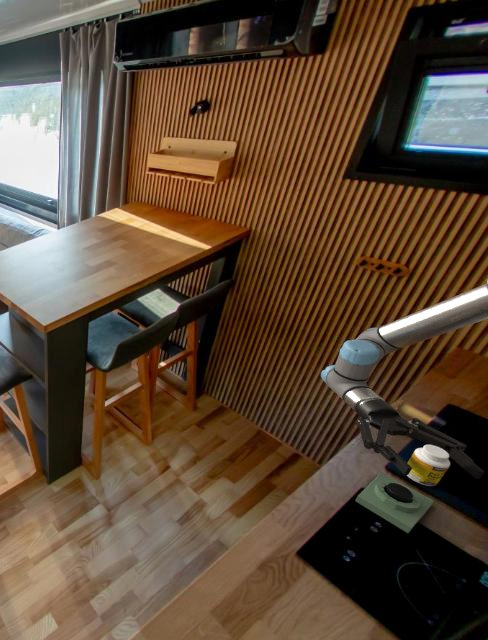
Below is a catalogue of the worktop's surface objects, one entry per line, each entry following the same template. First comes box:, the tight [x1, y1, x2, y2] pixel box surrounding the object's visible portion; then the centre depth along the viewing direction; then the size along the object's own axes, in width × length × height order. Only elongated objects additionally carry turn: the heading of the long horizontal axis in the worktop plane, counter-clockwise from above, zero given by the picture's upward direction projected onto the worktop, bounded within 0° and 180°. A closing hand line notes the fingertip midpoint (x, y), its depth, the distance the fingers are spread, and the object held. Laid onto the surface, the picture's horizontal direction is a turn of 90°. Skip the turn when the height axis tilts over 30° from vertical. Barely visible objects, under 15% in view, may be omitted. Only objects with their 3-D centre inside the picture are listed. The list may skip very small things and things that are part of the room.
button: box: [385, 483, 413, 503], centre depth 87 cm, size 4×4×2 cm
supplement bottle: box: [406, 444, 451, 487], centre depth 91 cm, size 6×6×10 cm
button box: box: [354, 472, 435, 534], centre depth 88 cm, size 12×9×4 cm
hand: (443, 473), depth 88 cm, fingers open, 13 cm apart
